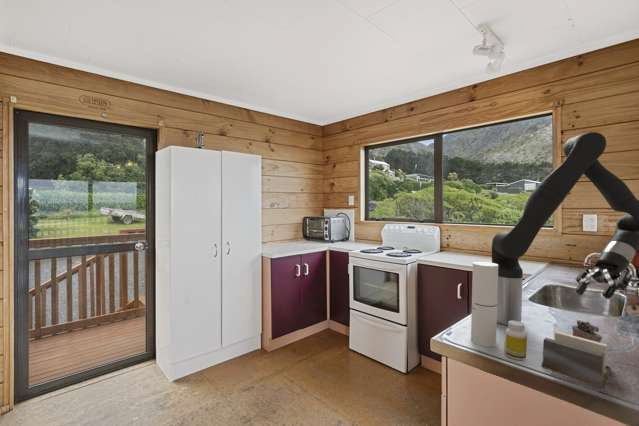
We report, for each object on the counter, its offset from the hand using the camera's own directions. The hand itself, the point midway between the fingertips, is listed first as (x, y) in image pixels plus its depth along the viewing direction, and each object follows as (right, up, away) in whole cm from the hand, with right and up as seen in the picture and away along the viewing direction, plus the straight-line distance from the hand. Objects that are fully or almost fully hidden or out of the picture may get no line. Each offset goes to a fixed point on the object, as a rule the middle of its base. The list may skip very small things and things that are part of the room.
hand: (591, 295), depth 103 cm
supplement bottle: (-31, -15, -11) cm, 36 cm away
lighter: (-11, -15, -11) cm, 22 cm away
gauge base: (-19, -15, -18) cm, 30 cm away
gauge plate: (-16, -14, -16) cm, 27 cm away
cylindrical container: (-36, -15, -1) cm, 39 cm away
